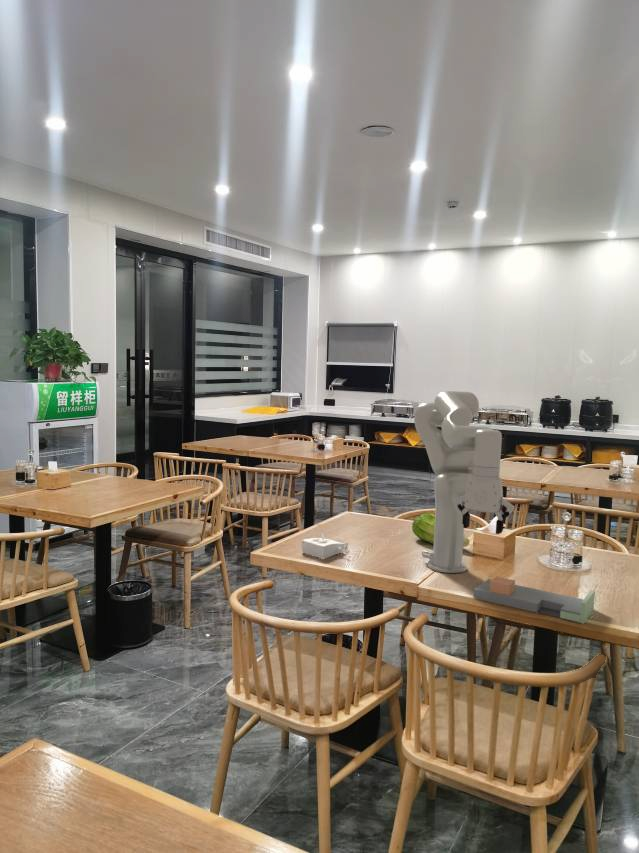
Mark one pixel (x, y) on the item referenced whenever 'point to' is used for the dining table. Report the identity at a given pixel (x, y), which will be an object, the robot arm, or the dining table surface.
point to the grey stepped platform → (541, 602)
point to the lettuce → (428, 528)
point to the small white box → (323, 547)
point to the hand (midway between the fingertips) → (482, 530)
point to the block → (502, 586)
